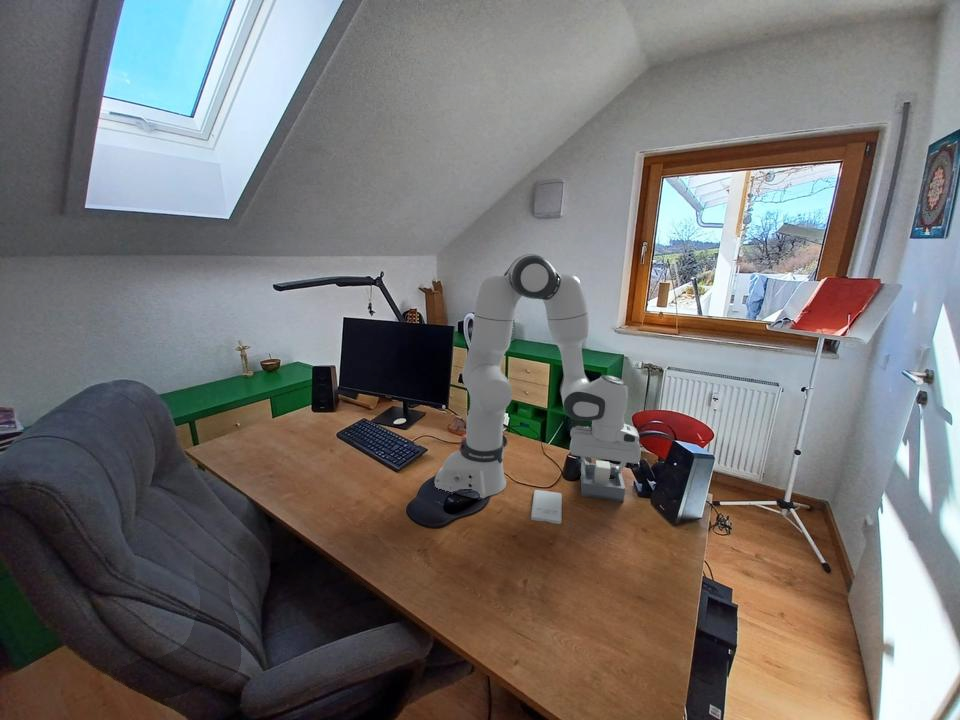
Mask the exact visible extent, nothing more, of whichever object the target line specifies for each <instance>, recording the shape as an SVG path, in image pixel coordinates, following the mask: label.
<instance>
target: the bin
mask: <svg viewBox="0 0 960 720" xmlns="http://www.w3.org/2000/svg"><path fill="white" fill-rule="evenodd" d="M581 462H582V461H581ZM595 464H596V462H595V463H593V462H589V468H588V469H583V465H584V464H583V462H582V463H580V471H581V476H580V475H579V477H580V495H581V497H583V498H584V497H585V498H592V499H600V500H606V501H612V502H619V503H620V502H621V503H624V501H625V494H626V486H625V482H624V478H623V473H622V472H621V474H618V473H615V469H616V466H617V465H611V464H610V468H611V470H610V475H613V476H615V477H616V478H614V479H609V485H607V484H599V483H594V473H595Z"/></svg>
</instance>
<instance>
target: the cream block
mask: <svg viewBox="0 0 960 720" xmlns="http://www.w3.org/2000/svg"><path fill="white" fill-rule="evenodd" d="M610 465H611V464H610V461H605V460H604V461H603V460H597V459H596V460H595V473H594V483H599V484H607V485H609V478H610V470H611V468H610Z"/></svg>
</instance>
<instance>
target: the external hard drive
mask: <svg viewBox="0 0 960 720" xmlns="http://www.w3.org/2000/svg"><path fill="white" fill-rule="evenodd" d="M562 495H563V494H562V493H561V492H556V491H555V492H554V491H547V490H541V489H534V490H533V497H532V504H531V506H532V507H531V514H530V520H531V521H537V522H546V523H547V522H548V523H550V524H556V525H561V524H562V509H563V508H562V507H563V506H562V503H563V502H562V501H563V496H562Z"/></svg>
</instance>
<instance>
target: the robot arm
mask: <svg viewBox="0 0 960 720" xmlns="http://www.w3.org/2000/svg"><path fill="white" fill-rule="evenodd" d="M523 297H524V298H527V299H533V300H534V299H535V300H542V302H543V304H544V306H545V310H546V311H545V312H546V319H547V324H548V328H549V329H548V330H549V332H550V336H551V337H552V338H551V339H552V340H553V343H555V344H556V346H557V347H558V350H559V352H560V358H561V363H562V372H563V376H562V380H561V384H560V386H559V393H560V396H561V401H562V405H563V411H564V412H565V414H566V415H567V416H568V417H569V418H570V419H572V420H575V421H580V422H584V421H585V422H586V421H591V423H592V424H591V426H581V425H576V426H574V427H572V428H571V429H570V434H569V435H570V438H571V440H570V443H569V453H570V454H571V455H572V456H575V457H576V456H577V457H580V460H581V462H583V464H584V465H583V469H588V468H589V463H590V462H589V461H588V460H586V459H587V458H591V459H599V460H604V461H605V460H607V461H612V462H613V461H615V462H620V463H619V465H615V466H616V469H615V473H618V474H621V473H622V470H623V469H624V468H625V467H626V466H627V463H628V464H635V465H636V464H638V463H639V462H640V461H641V455H642V454H641V449H642V448H641V445H640V442H639V440H640V435H639V432H638V429H637V428H636V427H634V426H632V425H631V424H627V423H625V416H624V415H625V413H626V411H627V407H628V397H629V394H628V393H629V392H628V391H629V389H628V385H627V384H626V382H625V381H624V380H623V379H621V378H619V377H616V376H614V375H608V374H606V375H605V374H603V375H601V376H600V377H599V378H597V379H595V380H592V381H590V379H589V378H588V377H587V375H586V373H585V367H584V361H583V360H584V359H583V350H582V348H583V344H584V342H585V341H586V340H587V338H588V336H589V325H590V323H589V311H588V305H587V300H586V296H585V293H584V289H583V286H582V283H581V281H580V279H579V278H578V277H577V276H576V275H573V274H571V273H561V274H559V272H558V271H556V269H555V267H553V265H552V264H551V263H550V261H549V260H547V259H546V258H545V257H543V256H541V255H538V254H535V253H528V254H523V255H521V256H519V257H518V258H516V259H515V260H514V261H513V262H512V263H511V264H510V266H509V268H508V269H507V270H506V272H504V274H503V275H492V276H489V277H487V278H485V279H483V281H482V282H481V285H480V287H479V289H478V294H477V298H476V302H475V307H474V313H473V314H474V315H473V321H472V322H473V323H472V331H471V338H470V344H469V348H468V352H467V355H466V357H465V362H464V365H463V366H462V373H461V376H462V381H463V384H464V386H465V388H466V389H467V391H468V394H469V400H470V401H469V403H470V404H469V410H468V415H467V416H466V419H465V423H466V424H465V425H466V426H465V427H466V428H465V429H466V430H465V433H464V434H463V435H462V437H461V438H460V439H461V441H460V443H459V446H458V447H459V448H458V450H455V451H454V452H453V453H450V454H449V455H448V456H447V458H445V461H444V463H443V466H442V467H440V468H439V470H438V471H437V473H436V475H435V477H434V482H433V483H434V484H435V485H434V488H435V487H436V488H438V489H437V490H439V489H442V490H445V491H444V492H446V491H449V492H453V491H457V490H459V489H472V490H474V491H477V492H478V493H479V494H480V497H481V498H483V499H485V498H487V497H490V496H494V495H496V494H499V493H501V492H502V491H503V490H504V489H505V488H506V486H507V479H506V476H505V472H504V471H505V470H504V463H503V461H504V455H505V446H504V440H503V436H504V435H503V433H504V418H505V413H506V410H507V407H508V406H509V405H510V403H511V401H512V399H513V390H512V386H511V383H510V381H509V379H508V378H507V376H506V375H504V373H503V372H502V369H501V367H502V362H503V360H504V357H505V355H506V352H507V351H508V349H509V348H510V345H511V342H512V341H511V340H512V335H513V334H512V333H513V325H514V320H515V310H516V307H517V304H518V302H519V301H520V299H521V298H523ZM436 488H435V489H436ZM442 490H441V491H442ZM449 492H448V493H449Z"/></svg>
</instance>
